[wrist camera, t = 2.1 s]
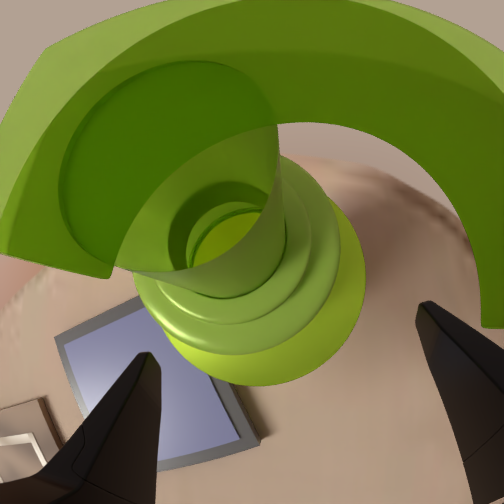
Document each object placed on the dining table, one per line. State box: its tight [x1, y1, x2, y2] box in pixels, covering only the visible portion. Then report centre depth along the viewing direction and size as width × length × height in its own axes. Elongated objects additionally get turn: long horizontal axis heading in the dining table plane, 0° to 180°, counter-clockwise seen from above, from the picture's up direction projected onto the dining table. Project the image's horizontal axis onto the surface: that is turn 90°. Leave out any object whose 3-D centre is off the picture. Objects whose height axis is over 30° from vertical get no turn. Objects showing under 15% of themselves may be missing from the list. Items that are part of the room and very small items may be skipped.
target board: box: [0, 398, 63, 483], centre depth 18 cm, size 20×20×1 cm
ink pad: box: [54, 296, 261, 472], centre depth 20 cm, size 13×13×1 cm
